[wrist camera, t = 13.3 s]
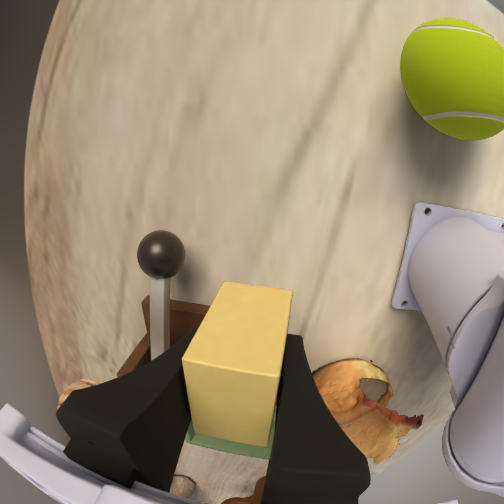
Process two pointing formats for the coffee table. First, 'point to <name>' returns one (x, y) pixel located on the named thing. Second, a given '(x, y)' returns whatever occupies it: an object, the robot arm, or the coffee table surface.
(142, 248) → the lever
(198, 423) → the block
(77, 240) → the coffee table surface
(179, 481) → the sculpture
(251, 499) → the mug
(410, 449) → the coffee table surface
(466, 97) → the tennis ball
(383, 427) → the bone
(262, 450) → the butter dish
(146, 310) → the brown lever mount bracket
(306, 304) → the coffee table surface
